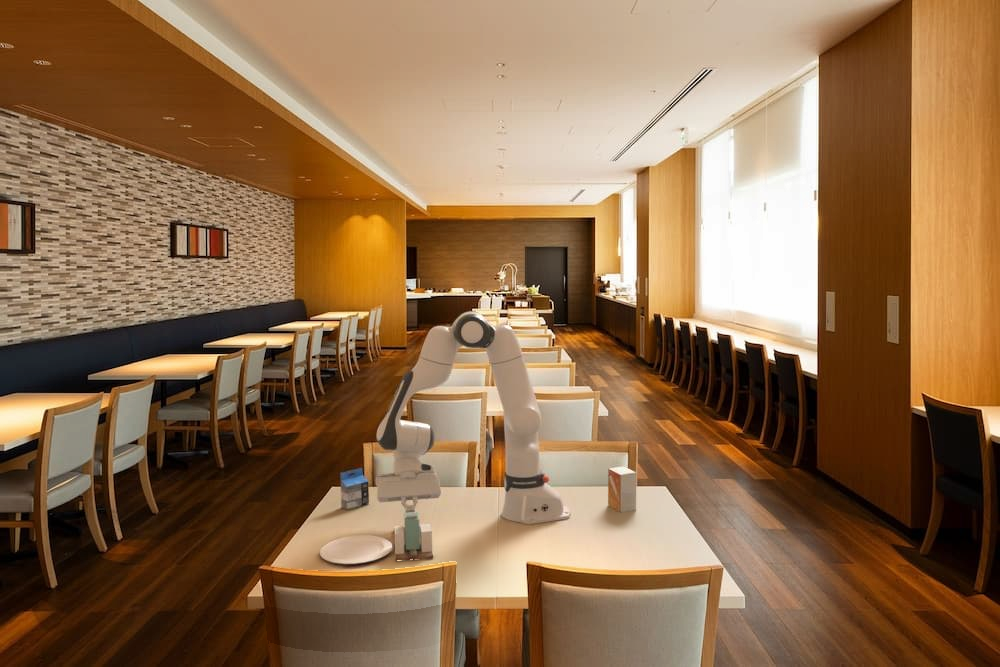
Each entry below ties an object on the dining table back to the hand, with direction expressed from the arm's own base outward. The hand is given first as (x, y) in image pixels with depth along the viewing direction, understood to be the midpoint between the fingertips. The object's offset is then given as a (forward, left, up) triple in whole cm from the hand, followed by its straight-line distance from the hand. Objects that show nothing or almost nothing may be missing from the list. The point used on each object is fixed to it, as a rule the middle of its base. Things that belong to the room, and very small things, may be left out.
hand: (410, 511), depth 235 cm
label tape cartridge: (+18, -26, -6) cm, 32 cm away
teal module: (0, +17, -4) cm, 17 cm away
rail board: (0, +12, -6) cm, 13 cm away
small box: (-71, -6, -6) cm, 72 cm away
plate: (+16, +15, -7) cm, 23 cm away
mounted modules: (0, +18, -5) cm, 18 cm away
